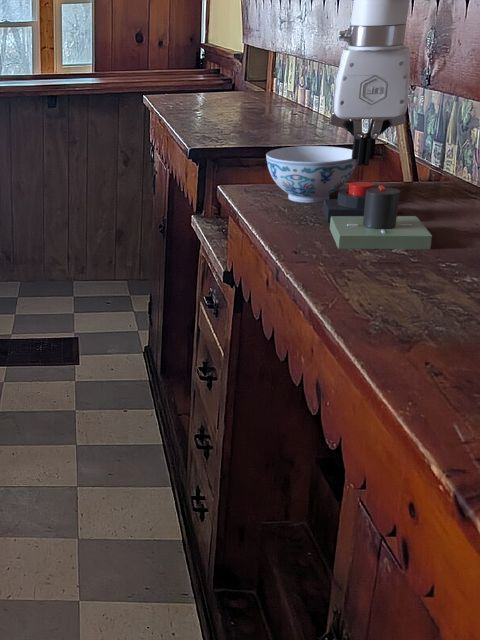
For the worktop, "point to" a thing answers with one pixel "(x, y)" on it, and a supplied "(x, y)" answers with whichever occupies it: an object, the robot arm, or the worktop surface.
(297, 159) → the chinaware
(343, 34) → the robot arm
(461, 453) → the worktop surface
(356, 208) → the switch block
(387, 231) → the console
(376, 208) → the dark grey cylinder
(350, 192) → the button
